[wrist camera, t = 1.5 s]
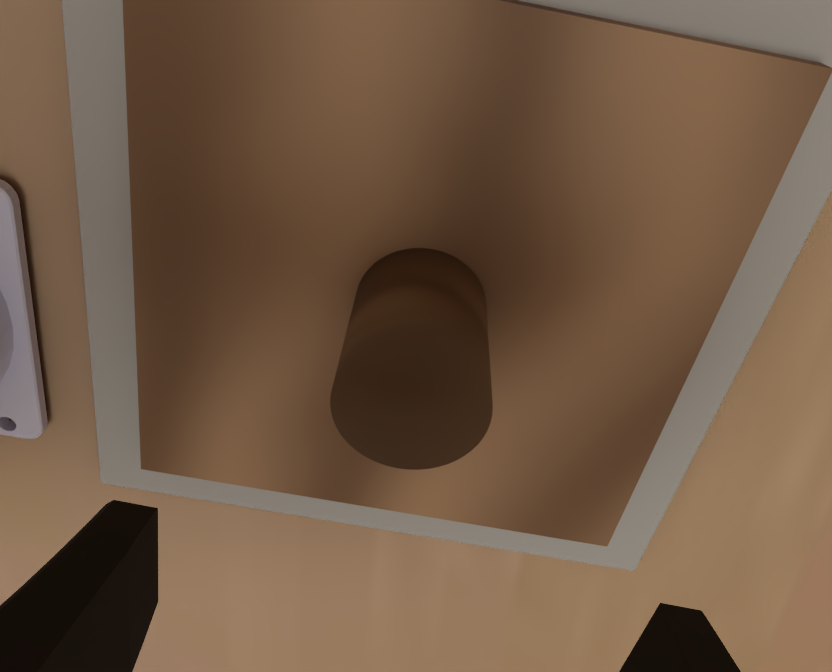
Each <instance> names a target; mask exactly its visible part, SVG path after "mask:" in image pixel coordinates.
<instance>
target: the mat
mask: <svg viewBox="0 0 832 672" xmlns="http://www.w3.org/2000/svg"><path fill="white" fill-rule="evenodd" d="M518 1H523V2H527V3H532V4H537V5H542V6H547V7H552V8H557V9H562V10H567V11H571V12H576V13H581V14H586V15H591V16H596V17H601V18H606V19H610V20H615V21H620V22H625V23H630V24H635V25H640V26H645V27H649V28H654V29H659V30H664V31H669V32H674V33H679V34H684V35H689V36H693V37H698V38H703V39H708V40H713V41H718V42H723V43H728V44H732V45H737V46H742V47H747V48H752V49H757V50H762V51H767V52H771V53H776V54H781V55H786V56H791V57H796V58H801V59H806V60H811V61H815V62H820V63H822V64H825V65H827V66H829V67H831V68H832V0H518ZM62 11H63V24H64V36H65V48H66V61H67V73H68V85H69V97H70V110H71V122H72V134H73V147H74V159H75V171H76V184H77V196H78V208H79V220H80V233H81V245H82V257H83V270H84V282H85V294H86V307H87V319H88V331H89V343H90V356H91V368H92V380H93V393H94V405H95V417H96V430H97V442H98V454H99V466H100V479H101V483H103V484H109V485H115V486H121V487H127V488H133V489H139V490H145V491H151V492H157V493H163V494H169V495H175V496H181V497H188V498H194V499H200V500H206V501H212V502H218V503H224V504H230V505H236V506H242V507H248V508H254V509H260V510H267V511H273V512H279V513H285V514H291V515H297V516H303V517H309V518H315V519H321V520H327V521H333V522H339V523H345V524H352V525H358V526H364V527H370V528H376V529H382V530H388V531H394V532H400V533H406V534H412V535H418V536H424V537H431V538H437V539H443V540H449V541H455V542H461V543H467V544H473V545H479V546H485V547H491V548H497V549H503V550H509V551H516V552H522V553H528V554H534V555H540V556H546V557H552V558H558V559H564V560H570V561H576V562H582V563H588V564H595V565H601V566H607V567H613V568H619V569H625V570H631V571H635V569H636V567H637V565H638V563H639V561H640V559H641V558H642V556H643V554H644V552H645V550H646V548H647V546H648V544H649V542H650V540H651V538H652V536H653V534H654V532H655V531H656V529H657V527H658V525H659V523H660V521H661V519H662V517H663V515H664V513H665V511H666V509H667V507H668V505H669V503H670V502H671V500H672V498H673V496H674V494H675V492H676V490H677V488H678V486H679V484H680V482H681V480H682V478H683V476H684V474H685V473H686V471H687V469H688V467H689V465H690V463H691V461H692V459H693V457H694V455H695V453H696V451H697V449H698V447H699V446H700V444H701V442H702V440H703V438H704V436H705V434H706V432H707V430H708V428H709V426H710V424H711V422H712V420H713V418H714V417H715V415H716V413H717V411H718V409H719V407H720V405H721V403H722V401H723V399H724V397H725V395H726V393H727V391H728V389H729V388H730V386H731V384H732V382H733V380H734V378H735V376H736V374H737V372H738V370H739V368H740V366H741V364H742V362H743V361H744V359H745V357H746V355H747V353H748V351H749V349H750V347H751V345H752V343H753V341H754V339H755V337H756V335H757V333H758V332H759V330H760V328H761V326H762V324H763V322H764V320H765V318H766V316H767V314H768V312H769V310H770V308H771V306H772V304H773V303H774V301H775V299H776V297H777V295H778V293H779V291H780V289H781V287H782V285H783V283H784V281H785V279H786V277H787V276H788V274H789V272H790V270H791V268H792V266H793V264H794V262H795V260H796V258H797V256H798V254H799V252H800V250H801V248H802V247H803V245H804V243H805V241H806V239H807V237H808V235H809V233H810V231H811V229H812V227H813V225H814V223H815V221H816V219H817V218H818V216H819V214H820V212H821V210H822V208H823V206H824V204H825V202H826V200H827V198H828V196H829V194H830V192H831V191H832V73H831V75H830V77H829V80H828V82H827V84H826V86H825V88H824V90H823V92H822V94H821V96H820V99H819V101H818V103H817V105H816V107H815V109H814V111H813V113H812V115H811V118H810V120H809V122H808V124H807V126H806V128H805V130H804V132H803V134H802V137H801V139H800V141H799V143H798V145H797V147H796V149H795V151H794V153H793V156H792V158H791V160H790V162H789V164H788V166H787V168H786V170H785V172H784V175H783V177H782V179H781V181H780V183H779V185H778V187H777V189H776V191H775V194H774V196H773V198H772V200H771V202H770V204H769V206H768V208H767V210H766V213H765V215H764V217H763V219H762V221H761V223H760V225H759V227H758V229H757V232H756V234H755V236H754V238H753V240H752V242H751V244H750V246H749V248H748V251H747V253H746V255H745V257H744V259H743V261H742V263H741V265H740V267H739V270H738V272H737V274H736V276H735V278H734V280H733V282H732V284H731V286H730V289H729V291H728V293H727V295H726V297H725V299H724V301H723V303H722V305H721V308H720V310H719V312H718V314H717V316H716V318H715V320H714V322H713V325H712V327H711V329H710V331H709V333H708V335H707V337H706V339H705V341H704V344H703V346H702V348H701V350H700V352H699V354H698V356H697V358H696V360H695V363H694V365H693V367H692V369H691V371H690V373H689V375H688V377H687V379H686V382H685V384H684V386H683V388H682V390H681V392H680V394H679V396H678V398H677V401H676V403H675V405H674V407H673V409H672V411H671V413H670V415H669V417H668V420H667V422H666V424H665V426H664V428H663V430H662V432H661V434H660V436H659V439H658V441H657V443H656V445H655V447H654V449H653V451H652V453H651V455H650V458H649V460H648V462H647V464H646V466H645V468H644V470H643V472H642V474H641V477H640V479H639V481H638V483H637V485H636V487H635V489H634V491H633V493H632V496H631V498H630V500H629V502H628V504H627V506H626V508H625V510H624V512H623V515H622V517H621V519H620V521H619V523H618V525H617V527H616V529H615V531H614V534H613V536H612V538H611V540H610V542H609V544H608V546H607V547H606V546H600V545H594V544H588V543H582V542H576V541H570V540H564V539H558V538H552V537H546V536H540V535H534V534H528V533H522V532H516V531H510V530H504V529H498V528H492V527H486V526H480V525H474V524H468V523H462V522H456V521H450V520H444V519H438V518H432V517H426V516H419V515H413V514H407V513H401V512H395V511H389V510H383V509H377V508H371V507H365V506H359V505H353V504H347V503H341V502H335V501H329V500H323V499H317V498H311V497H305V496H299V495H293V494H287V493H281V492H275V491H269V490H263V489H257V488H251V487H245V486H239V485H233V484H227V483H221V482H215V481H209V480H203V479H197V478H191V477H185V476H179V475H173V474H167V473H161V472H155V471H149V470H143V469H141V458H140V433H139V407H138V382H137V356H136V331H135V306H134V280H133V255H132V229H131V204H130V178H129V153H128V127H127V102H126V76H125V51H124V25H123V0H62Z"/></svg>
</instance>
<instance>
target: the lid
mask: <svg viewBox="0 0 832 672" xmlns="http://www.w3.org/2000/svg"><path fill="white" fill-rule="evenodd" d="M123 25H124V51H125V76H126V102H127V127H128V153H129V178H130V204H131V229H132V255H133V280H134V306H135V331H136V356H137V382H138V407H139V433H140V458H141V469H143V470H149V471H155V472H161V473H167V474H173V475H179V476H185V477H191V478H197V479H203V480H209V481H215V482H221V483H227V484H233V485H239V486H245V487H251V488H257V489H263V490H269V491H275V492H281V493H287V494H293V495H299V496H305V497H311V498H317V499H323V500H329V501H335V502H341V503H347V504H353V505H359V506H365V507H371V508H377V509H383V510H389V511H395V512H401V513H407V514H413V515H419V516H426V517H432V518H438V519H444V520H450V521H456V522H462V523H468V524H474V525H480V526H486V527H492V528H498V529H504V530H510V531H516V532H522V533H528V534H534V535H540V536H546V537H552V538H558V539H564V540H570V541H576V542H582V543H588V544H594V545H600V546H606V547H607V546H608V544H609V542H610V540H611V538H612V536H613V534H614V531H615V529H616V527H617V525H618V523H619V521H620V519H621V517H622V515H623V512H624V510H625V508H626V506H627V504H628V502H629V500H630V498H631V496H632V493H633V491H634V489H635V487H636V485H637V483H638V481H639V479H640V477H641V474H642V472H643V470H644V468H645V466H646V464H647V462H648V460H649V458H650V455H651V453H652V451H653V449H654V447H655V445H656V443H657V441H658V439H659V436H660V434H661V432H662V430H663V428H664V426H665V424H666V422H667V420H668V417H669V415H670V413H671V411H672V409H673V407H674V405H675V403H676V401H677V398H678V396H679V394H680V392H681V390H682V388H683V386H684V384H685V382H686V379H687V377H688V375H689V373H690V371H691V369H692V367H693V365H694V363H695V360H696V358H697V356H698V354H699V352H700V350H701V348H702V346H703V344H704V341H705V339H706V337H707V335H708V333H709V331H710V329H711V327H712V325H713V322H714V320H715V318H716V316H717V314H718V312H719V310H720V308H721V305H722V303H723V301H724V299H725V297H726V295H727V293H728V291H729V289H730V286H731V284H732V282H733V280H734V278H735V276H736V274H737V272H738V270H739V267H740V265H741V263H742V261H743V259H744V257H745V255H746V253H747V251H748V248H749V246H750V244H751V242H752V240H753V238H754V236H755V234H756V232H757V229H758V227H759V225H760V223H761V221H762V219H763V217H764V215H765V213H766V210H767V208H768V206H769V204H770V202H771V200H772V198H773V196H774V194H775V191H776V189H777V187H778V185H779V183H780V181H781V179H782V177H783V175H784V172H785V170H786V168H787V166H788V164H789V162H790V160H791V158H792V156H793V153H794V151H795V149H796V147H797V145H798V143H799V141H800V139H801V137H802V134H803V132H804V130H805V128H806V126H807V124H808V122H809V120H810V118H811V115H812V113H813V111H814V109H815V107H816V105H817V103H818V101H819V99H820V96H821V94H822V92H823V90H824V88H825V86H826V84H827V82H828V80H829V77H830V75H831V73H832V68H831V67H829V66H827V65H825V64H822V63H820V62H815V61H811V60H806V59H801V58H796V57H791V56H786V55H781V54H776V53H771V52H767V51H762V50H757V49H752V48H747V47H742V46H737V45H732V44H728V43H723V42H718V41H713V40H708V39H703V38H698V37H693V36H689V35H684V34H679V33H674V32H669V31H664V30H659V29H654V28H649V27H645V26H640V25H635V24H630V23H625V22H620V21H615V20H610V19H606V18H601V17H596V16H591V15H586V14H581V13H576V12H571V11H567V10H562V9H557V8H552V7H547V6H542V5H537V4H532V3H527V2H523V1H518V0H123Z"/></svg>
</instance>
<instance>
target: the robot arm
mask: <svg viewBox="0 0 832 672" xmlns="http://www.w3.org/2000/svg"><path fill="white" fill-rule="evenodd" d="M8 418H10V419H12V420H13V421H14V422H13V421H10V420H9V419H8ZM47 424H48V420H47V412H46V405H45V397H44V389H43V381H42V373H41V366H40V358H39V350H38V342H37V334H36V327H35V319H34V311H33V303H32V295H31V288H30V280H29V272H28V264H27V256H26V249H25V241H24V233H23V225H22V217H21V210H20V202H19V198H18V195H17V193H16V192H15V190H14V189H13V188H12V186H10V185H9V184H8V183H6V182H5V181H3V180H1V179H0V434H1V435H7V436H13V437H19V438H25V439H35V438H38V437H39V436H40V435H41V434H42V433H43V432H44V430H45V429H46V428H47ZM157 603H158V508H153V507H148V506H143V505H138V504H132V503H127V502H122V501H116V500H113V501H111V502H109V503H108V504H106V505H105V506H104V507H103V508H102V509H101V510H100V511H99V512H98V513H97V514H96V515H95V516H94V517H93V518H92V519H91V520H90V521H89V522H88V523H87V524H86V525H85V526H84V527H83V528H82V529H81V530H80V531H79V532H78V533H77V534H76V535H75V536H74V537H73V538H72V539H71V540H70V541H69V542H68V543H67V544H66V545H65V546H64V547H63V548H62V549H61V550H60V551H59V552H58V553H57V554H56V555H55V556H54V557H53V558H52V559H50V560H49V561H48V562H47V563H46V564H45V565H44V566H43V567H42V568H41V569H40V570H39V571H38V572H37V573H36V574H35V575H34V576H32V577H31V578H30V579H29V580H28V581H27V582H26V583H25V584H24V585H23V586H22V587H21V588H19V589H18V590H17V591H16V592H15V593H14V594H13V595H12V596H11V597H9V598H8V599H7V600H6V601H5V602H4V603H3V604H2V605H1V606H0V672H132V671H133V668H134V666H135V663H136V660H137V658H138V655H139V652H140V650H141V647H142V644H143V642H144V639H145V636H146V633H147V631H148V628H149V625H150V622H151V620H152V617H153V614H154V611H155V609H156V606H157ZM619 672H740V670H739V668H738V667H737V665H736V664H735V662H734V660H733V659H732V657H731V656H730V654H729V653H728V651H727V649H726V648H725V646H724V645H723V643H722V642H721V640H720V638H719V637H718V635H717V634H716V632H715V631H714V629H713V627H712V626H711V624H710V623H709V621H708V620H707V618H706V617H705V615H704V614H703V612H702V611H700V610H695V609H690V608H684V607H679V606H674V605H668V604H663V603H660V604H659V606H658V608H657V609H656V611H655V613H654V614H653V616H652V618H651V619H650V621H649V623H648V625H647V626H646V628H645V630H644V631H643V633H642V635H641V636H640V638H639V640H638V641H637V643H636V645H635V646H634V648H633V650H632V651H631V653H630V655H629V656H628V658H627V660H626V661H625V663H624V665H623V666H622V668H621V670H620V671H619Z"/></svg>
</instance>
